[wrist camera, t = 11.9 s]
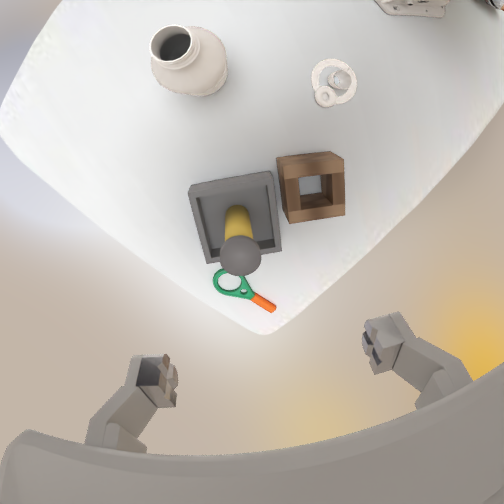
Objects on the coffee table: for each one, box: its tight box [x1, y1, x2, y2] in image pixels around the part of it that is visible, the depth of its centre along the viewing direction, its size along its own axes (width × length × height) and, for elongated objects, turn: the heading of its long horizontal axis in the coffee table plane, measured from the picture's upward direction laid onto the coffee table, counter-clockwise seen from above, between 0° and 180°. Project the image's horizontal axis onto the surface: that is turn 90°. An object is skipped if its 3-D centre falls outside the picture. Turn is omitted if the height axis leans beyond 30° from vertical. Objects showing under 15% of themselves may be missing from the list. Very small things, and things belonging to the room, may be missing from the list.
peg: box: [220, 205, 261, 276], centre depth 41 cm, size 5×5×14 cm
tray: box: [188, 171, 282, 264], centre depth 46 cm, size 13×13×4 cm
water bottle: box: [149, 25, 228, 96], centre depth 24 cm, size 7×7×25 cm
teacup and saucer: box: [311, 59, 357, 108], centre depth 35 cm, size 9×8×4 cm
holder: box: [276, 151, 345, 224], centre depth 43 cm, size 9×9×6 cm
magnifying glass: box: [213, 269, 276, 313], centre depth 56 cm, size 15×6×2 cm, turn 49°
